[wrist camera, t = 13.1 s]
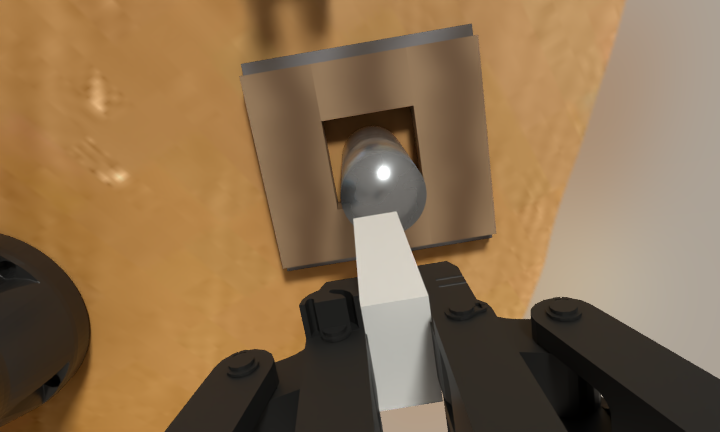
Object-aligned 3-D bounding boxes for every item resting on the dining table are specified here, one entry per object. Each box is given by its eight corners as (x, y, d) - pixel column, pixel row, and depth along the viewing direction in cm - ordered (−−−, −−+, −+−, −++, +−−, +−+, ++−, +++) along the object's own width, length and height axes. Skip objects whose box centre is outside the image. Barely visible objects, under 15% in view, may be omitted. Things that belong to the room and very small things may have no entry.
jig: (288, 268, 39) (285, 278, 38) (242, 64, 35) (236, 63, 33) (489, 234, 39) (497, 243, 37) (469, 24, 35) (476, 21, 33)
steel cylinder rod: (347, 189, 38) (348, 242, 26) (337, 131, 36) (333, 161, 25) (405, 179, 38) (431, 229, 26) (397, 121, 36) (420, 146, 25)
